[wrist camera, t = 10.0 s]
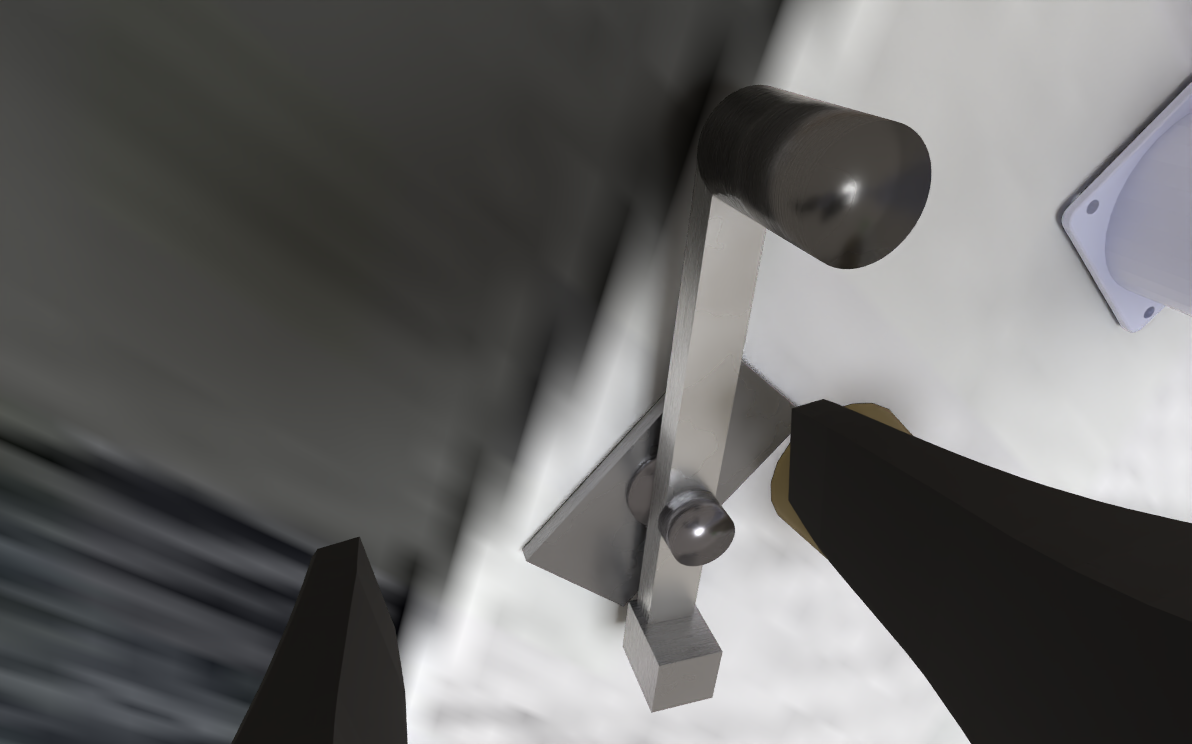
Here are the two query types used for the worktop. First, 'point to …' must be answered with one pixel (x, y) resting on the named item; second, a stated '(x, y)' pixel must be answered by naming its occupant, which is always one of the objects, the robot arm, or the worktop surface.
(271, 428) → the worktop surface
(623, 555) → the base plate
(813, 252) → the lever
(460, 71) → the worktop surface
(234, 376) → the worktop surface
